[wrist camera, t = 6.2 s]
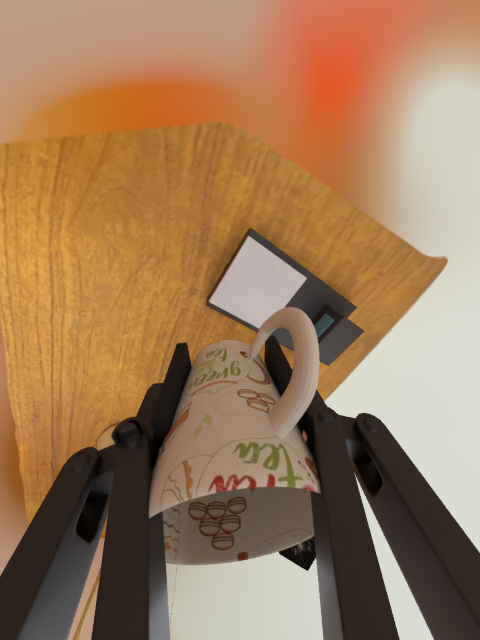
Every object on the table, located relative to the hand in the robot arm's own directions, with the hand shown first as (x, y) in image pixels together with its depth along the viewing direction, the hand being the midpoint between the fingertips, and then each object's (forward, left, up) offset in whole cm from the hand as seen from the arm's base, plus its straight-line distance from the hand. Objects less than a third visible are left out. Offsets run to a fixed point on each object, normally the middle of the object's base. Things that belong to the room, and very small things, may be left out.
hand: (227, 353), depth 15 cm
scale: (+3, +10, -18) cm, 21 cm away
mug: (0, +1, 0) cm, 1 cm away
